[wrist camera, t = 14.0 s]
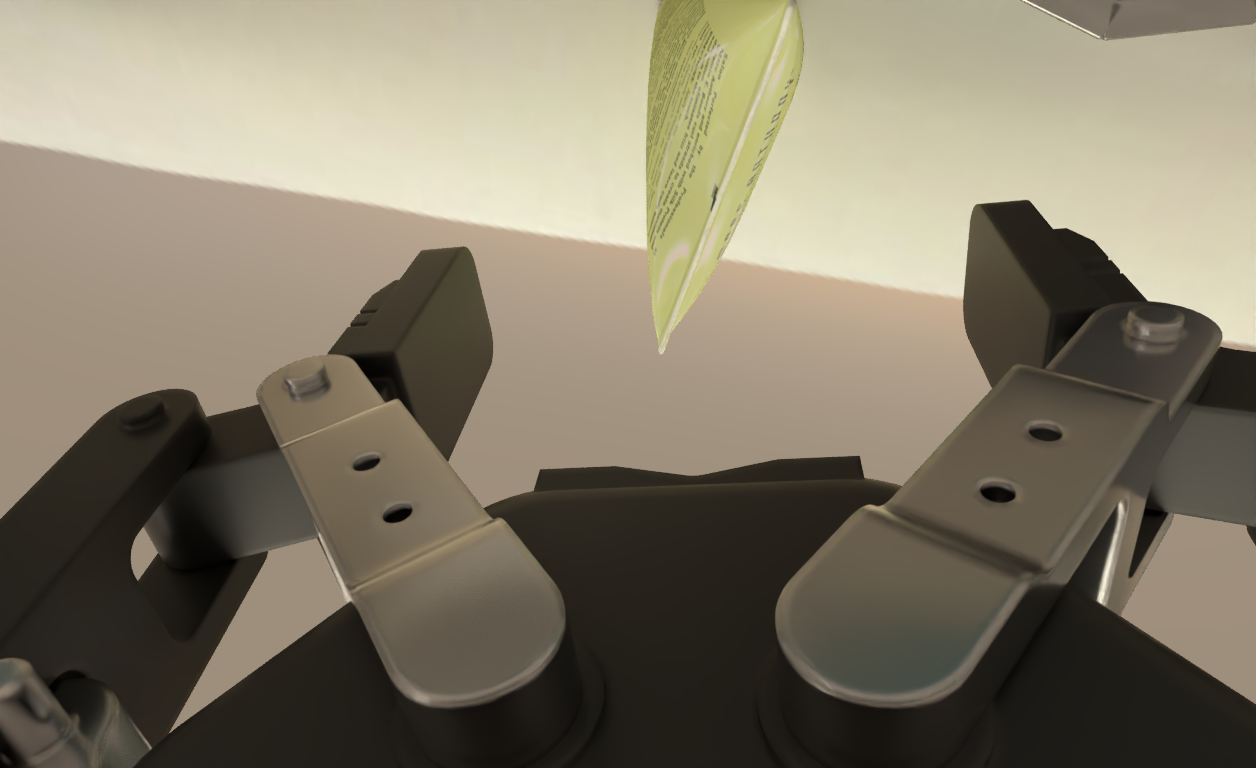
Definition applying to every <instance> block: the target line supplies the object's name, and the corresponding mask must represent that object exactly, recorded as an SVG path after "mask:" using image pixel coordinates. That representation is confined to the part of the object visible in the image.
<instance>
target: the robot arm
mask: <svg viewBox="0 0 1256 768" xmlns="http://www.w3.org/2000/svg"><path fill="white" fill-rule="evenodd" d="M963 303H964V304H963V311H964V323H965V329H966V333H967V336H968V339H969V341H970V343H971V345H972V347H973V349H974V351H975V353H976V356H977V358H978V360H979V362H980V364H981V366H982V368H983V370H984V372H985V375H986V377H987V379H988V381H989V383H990V385H991V387H992V390H991V391H990V392H989V393H988V394H987V395H986V396H985V397H984V398H983V399H982V400H981V401H980V403H979V404H978V405H977V406H976V407H975V408H974V409H973V410H972V411H971V412H970V413H969V414H968V416H967V417H966V418H965V419H964V420H963V421H962V422H961V423H960V424H959V425H958V426H957V427H956V429H955V430H954V431H953V432H952V433H951V434H950V435H949V436H948V437H947V438H946V439H945V440H944V442H943V443H942V444H941V445H940V446H939V447H938V448H937V449H936V450H935V451H934V452H933V454H932V455H931V456H930V457H929V458H928V459H927V460H926V461H925V462H924V463H923V465H921V466H920V468H919V469H918V470H917V471H916V472H915V473H914V474H913V475H912V476H911V477H910V478H909V479H908V481H907V482H906V483H905V484H904V485H903V486H900V485H897V484H893V483H888V482H884V481H879V480H874V479H867V478H864V474H863V470H862V465H861V460H860V456H848V457H824V458H800V459H778V460H772V461H768V462H763V463H758V464H753V465H748V466H744V467H739V468H734V469H729V470H724V471H719V472H715V473H710V474H705V475H699V476H686V475H678V474H670V473H662V472H655V471H647V470H640V469H632V468H624V467H617V466H611V467H588V468H564V469H543V470H542V469H541V470H540V472H539V475H538V478H537V482H536V485H535V488H534V491H532V492H527V493H523V494H520V495H517V496H513V497H510V498H507V499H504V500H502V501H499V502H496V503H494V504H492V505H490V506H487V507H485V508H483V507H482V506H481V505H480V503H479V502H478V501H477V500H476V498H475V497H474V496H473V494H472V493H471V492H470V490H469V489H468V488H467V486H466V485H465V484H464V483H463V481H462V480H461V479H460V478H459V476H458V475H457V473H456V472H455V471H454V470H453V468H452V467H451V466H450V464H449V463H448V461H449V458H450V456H451V454H452V452H453V449H454V447H455V445H456V443H457V440H458V438H459V436H460V434H461V431H462V429H463V427H464V424H465V422H466V420H467V418H468V416H469V413H470V411H471V409H472V407H473V405H474V402H475V400H476V398H477V395H478V393H479V391H480V389H481V387H482V384H483V382H484V380H485V378H486V375H487V373H488V371H489V369H490V366H491V362H492V357H493V339H492V332H491V327H490V323H489V319H488V315H487V311H486V307H485V303H484V299H483V295H482V291H481V287H480V282H479V278H478V274H477V270H476V266H475V262H474V259H473V256H472V254H471V252H470V251H469V249H468V248H466V247H454V248H442V249H431V250H422V251H421V252H420V253H419V254H418V256H417V257H416V258H415V260H414V261H413V262H412V264H411V265H410V266H409V268H408V269H407V270H406V272H405V273H404V275H403V276H402V277H401V279H400V280H395V281H393V282H392V283H390V284H389V285H387V286H386V287H384V288H383V289H381V290H380V291H378V292H377V293H375V294H374V295H372V297H371V298H370V299H369V301H368V302H367V303H366V304H365V306H364V307H363V308H362V309H361V311H360V313H361V314H358V315H357V316H356V317H355V318H354V320H353V321H352V322H351V324H350V325H351V327H348V328H347V329H346V330H345V332H344V333H343V334H342V335H341V337H340V338H339V339H338V341H337V342H336V343H335V345H334V346H333V347H332V348H331V350H330V351H329V352H328V354H327V355H319V356H313V357H310V358H305V359H302V360H299V361H296V362H293V363H291V364H288V365H286V366H284V367H282V368H280V369H279V370H277V371H275V372H274V373H272V374H271V375H269V376H268V377H267V378H266V379H265V380H264V381H263V382H262V383H261V384H260V385H259V387H258V389H257V392H256V397H257V400H258V402H259V404H258V405H254V406H251V407H246V408H243V409H238V410H234V411H229V412H226V413H221V414H217V415H213V416H208V417H206V415H205V413H204V411H203V409H202V407H201V405H200V403H199V401H198V398H197V396H196V395H195V394H194V393H193V392H191V391H188V390H184V389H168V390H161V391H156V392H152V393H148V394H145V395H142V396H139V397H136V398H134V399H131V400H129V401H127V402H125V403H123V404H121V405H119V406H117V407H115V408H114V409H112V410H110V411H109V412H108V413H106V414H105V415H103V416H102V417H101V418H100V419H99V420H98V421H97V422H96V423H95V424H94V425H93V426H92V427H91V428H90V429H89V430H88V431H87V432H86V433H85V434H84V435H83V436H82V437H81V438H80V439H79V440H78V441H77V442H76V443H75V444H74V445H73V446H72V447H71V448H70V449H69V450H68V451H67V452H66V453H65V454H64V455H63V456H62V457H61V458H60V459H59V460H58V461H57V462H56V463H55V464H54V465H53V466H52V467H51V468H50V469H49V471H47V472H46V473H45V474H44V476H42V478H41V479H40V480H39V481H38V482H37V483H36V484H35V485H34V486H33V487H32V488H31V489H30V490H29V491H28V492H27V493H26V494H25V495H24V496H23V497H22V498H21V499H20V500H19V501H18V502H17V503H16V504H15V505H14V506H13V507H12V508H11V509H10V510H9V511H8V512H7V513H6V514H5V515H4V516H3V517H2V518H1V519H0V768H1256V704H1254V703H1253V702H1251V701H1250V700H1248V699H1247V698H1245V697H1244V696H1242V695H1240V694H1239V693H1238V692H1236V691H1234V690H1233V689H1231V688H1230V687H1228V686H1226V685H1225V684H1224V683H1222V682H1221V681H1219V680H1218V679H1216V678H1214V677H1213V676H1211V675H1210V674H1208V673H1207V672H1205V671H1204V670H1202V669H1201V668H1199V667H1197V666H1196V665H1194V664H1193V663H1191V662H1190V661H1188V660H1186V659H1185V658H1184V657H1182V656H1180V655H1179V654H1177V653H1176V652H1174V651H1173V650H1171V649H1169V648H1168V647H1167V646H1165V645H1164V644H1162V643H1160V642H1159V641H1157V640H1156V639H1154V638H1153V637H1151V636H1150V635H1148V634H1147V633H1145V632H1143V631H1142V630H1141V629H1139V628H1137V627H1136V626H1134V625H1133V624H1131V623H1129V622H1128V621H1127V620H1125V619H1124V618H1122V617H1121V614H1122V612H1123V610H1124V608H1125V606H1126V604H1127V602H1128V600H1129V599H1130V597H1131V595H1132V593H1133V592H1134V590H1135V588H1136V586H1137V584H1138V583H1139V581H1140V579H1141V577H1142V575H1143V574H1144V572H1145V570H1146V568H1147V566H1148V565H1149V563H1150V561H1151V559H1152V557H1153V556H1154V554H1155V552H1156V550H1157V548H1158V547H1159V545H1160V543H1161V541H1162V539H1163V538H1164V536H1165V534H1166V532H1167V530H1168V529H1169V526H1170V525H1171V522H1172V520H1173V517H1174V513H1175V514H1181V515H1187V516H1193V517H1200V518H1205V519H1211V520H1217V521H1223V522H1229V523H1235V524H1241V525H1246V526H1247V531H1248V533H1249V535H1250V537H1251V539H1252V540H1253V542H1254V543H1255V545H1256V352H1250V351H1242V350H1234V349H1229V348H1223V347H1220V344H1221V341H1222V332H1221V330H1220V328H1219V327H1218V325H1217V324H1216V323H1215V322H1213V321H1212V320H1211V319H1209V318H1208V317H1206V316H1204V315H1202V314H1201V313H1198V312H1196V311H1193V310H1191V309H1187V308H1184V307H1181V306H1177V305H1172V304H1167V303H1161V302H1150V301H1147V300H1146V299H1145V297H1144V296H1143V295H1142V294H1141V293H1140V292H1139V291H1138V290H1137V289H1136V287H1135V286H1134V285H1133V284H1132V283H1131V282H1130V281H1129V280H1128V278H1127V277H1126V276H1125V275H1124V274H1123V273H1122V274H1120V270H1119V268H1118V267H1117V266H1116V265H1115V264H1114V263H1113V262H1112V261H1111V260H1108V256H1107V255H1106V254H1105V253H1104V252H1103V251H1102V249H1101V248H1100V247H1099V246H1098V245H1097V244H1096V243H1095V242H1094V241H1093V240H1091V239H1088V238H1086V237H1084V236H1082V235H1080V234H1078V233H1076V232H1073V231H1071V230H1069V229H1067V228H1063V229H1052V227H1051V226H1050V225H1049V224H1048V223H1047V221H1046V220H1045V219H1044V218H1043V216H1042V215H1041V214H1040V213H1039V212H1038V210H1037V209H1036V208H1035V207H1034V205H1033V204H1032V203H1031V202H1030V201H1029V200H1021V201H1009V202H997V203H985V204H977V205H975V207H974V208H973V211H972V215H971V220H970V230H969V241H968V253H967V264H966V276H965V287H964V300H963ZM143 527H144V528H145V530H146V532H147V534H148V535H149V537H150V539H151V541H152V542H153V544H154V546H155V548H156V550H157V551H158V554H157V555H156V557H155V558H154V559H153V561H152V562H151V564H150V565H149V566H148V568H147V569H146V571H145V572H144V574H143V575H142V576H141V578H140V579H139V580H138V581H137V579H136V578H135V576H134V574H133V571H132V567H131V549H132V545H133V542H134V539H135V537H136V536H137V534H138V533H139V531H140V530H141V529H142V528H143ZM314 538H317V539H318V542H319V544H320V546H321V549H322V551H323V553H324V555H325V557H326V560H327V562H328V564H329V566H330V568H331V571H332V572H333V575H334V577H335V579H336V582H337V584H338V586H339V588H340V590H341V592H342V595H343V597H344V599H345V601H346V603H347V604H346V605H345V606H343V607H342V608H340V609H339V610H338V611H336V612H335V613H334V614H332V615H331V616H329V617H328V618H327V619H325V620H324V621H322V622H321V623H320V624H318V625H317V626H316V627H314V628H313V629H312V630H310V631H309V632H307V633H306V634H305V635H303V636H302V637H301V638H299V639H298V640H297V641H295V642H294V643H292V644H291V645H290V646H288V647H287V648H286V649H284V650H283V651H281V652H280V653H279V654H277V655H276V656H274V657H273V658H272V659H270V660H269V661H268V662H266V663H265V664H263V665H262V666H261V667H259V668H258V669H257V670H255V671H254V672H252V673H251V674H250V675H248V676H247V677H246V678H244V679H243V680H241V681H240V682H239V683H237V684H236V685H235V686H233V687H232V688H231V689H229V690H228V691H226V692H225V693H224V694H222V695H221V696H219V697H218V698H217V699H215V700H214V701H213V702H212V703H210V704H208V705H207V706H206V707H205V708H203V709H202V710H200V711H199V712H197V713H196V714H195V715H193V716H192V717H191V718H189V719H188V720H187V721H185V722H184V723H182V724H181V725H180V726H178V727H177V728H176V729H174V730H173V731H172V732H171V733H169V732H170V730H171V728H172V727H173V725H174V723H175V721H176V720H177V718H178V716H179V714H180V712H181V710H182V708H183V707H184V705H185V703H186V702H187V700H188V698H189V696H190V694H191V692H192V691H193V689H194V687H195V686H196V684H197V682H198V680H199V678H200V677H201V675H202V673H203V671H204V669H205V668H206V666H207V664H208V662H209V660H210V659H211V657H212V655H213V653H214V652H215V650H216V648H217V646H218V644H219V643H220V641H221V639H222V637H223V635H224V634H225V632H226V630H227V628H228V626H229V624H230V623H231V621H232V619H233V617H234V616H235V614H236V612H237V610H238V608H239V607H240V605H241V603H242V601H243V600H244V598H245V596H246V594H247V592H248V591H249V589H250V587H251V585H252V583H253V582H254V580H255V578H256V576H257V574H258V573H259V571H260V569H261V567H262V566H263V564H264V562H265V560H266V558H267V554H268V551H269V550H272V549H276V548H280V547H284V546H288V545H291V544H296V543H299V542H303V541H307V540H311V539H314Z"/></svg>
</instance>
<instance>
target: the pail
mask: <svg viewBox="0 0 1256 768" xmlns="http://www.w3.org/2000/svg"><path fill="white" fill-rule="evenodd" d="M1020 1H1022V2H1024V3H1026V4H1028V5H1030V6H1032V7H1034V8H1036V9H1038V10H1040V11H1042V12H1044V13H1046V14H1048V15H1050V16H1052V17H1054V18H1056V19H1058V20H1060V21H1062V22H1064V23H1066V24H1068V25H1070V26H1072V27H1074V28H1076V29H1078V30H1080V31H1082V32H1084V33H1086V34H1088V35H1090V36H1092V37H1094V38H1097V39H1103V40H1113V39H1122V38H1132V37H1141V36H1150V35H1159V34H1168V33H1177V32H1186V31H1195V30H1204V29H1213V28H1222V27H1231V26H1240V25H1249V24H1253V23H1255V21H1256V0H1020Z"/></svg>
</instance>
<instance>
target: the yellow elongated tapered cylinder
mask: <svg viewBox="0 0 1256 768" xmlns="http://www.w3.org/2000/svg"><path fill="white" fill-rule="evenodd" d="M803 51H804V41H803V29H802V24H801V18H800V14H799V11H798V7H797V4H796V1H795V0H660V5H659V9H658V14H657V19H656V24H655V29H654V36H653V43H652V51H651V59H650V72H649V85H648V106H647V137H646V196H647V246H648V263H649V277H650V290H651V301H652V309H653V318H654V324H655V328H656V333H657V338H658V341H659V345H658V351H659V354H663V353H664V351H665V348H666V345H667V342H668V340H669V337H670V335H671V332H672V331H673V330H674V328H675V327H676V326H677V325H678V324H679V322H680V321H681V320H682V318H683V317H684V316H685V314H686V313H687V311H688V310H689V309H690V307H691V306H692V304H693V303H694V302H695V300H696V299H697V297H698V296H699V294H700V293H701V291H702V290H703V288H704V286H705V285H706V283H707V282H708V280H709V278H710V277H711V275H712V273H713V271H714V269H715V268H716V266H717V264H718V262H719V260H720V258H721V256H722V255H723V253H724V251H725V249H726V247H727V245H728V244H729V242H730V240H731V238H732V236H733V233H734V231H735V229H736V227H737V225H738V222H739V220H740V218H741V216H742V214H743V211H744V209H745V207H746V205H747V203H748V200H749V198H750V196H751V193H752V191H753V189H754V187H755V184H756V182H757V180H758V177H759V175H760V173H761V170H762V168H763V166H764V163H765V161H766V159H767V157H768V154H769V152H770V150H771V147H772V145H773V143H774V140H775V138H776V136H777V133H778V131H779V129H780V127H781V124H782V122H783V120H784V117H785V115H786V113H787V110H788V108H789V105H790V103H791V100H792V98H793V95H794V92H795V89H796V86H797V83H798V80H799V76H800V71H801V67H802V60H803Z"/></svg>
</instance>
